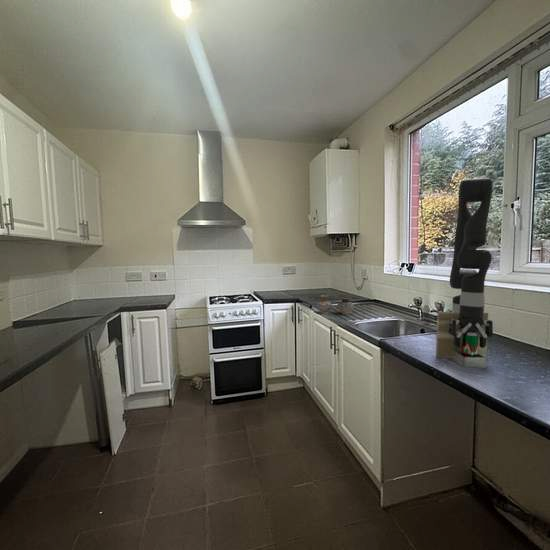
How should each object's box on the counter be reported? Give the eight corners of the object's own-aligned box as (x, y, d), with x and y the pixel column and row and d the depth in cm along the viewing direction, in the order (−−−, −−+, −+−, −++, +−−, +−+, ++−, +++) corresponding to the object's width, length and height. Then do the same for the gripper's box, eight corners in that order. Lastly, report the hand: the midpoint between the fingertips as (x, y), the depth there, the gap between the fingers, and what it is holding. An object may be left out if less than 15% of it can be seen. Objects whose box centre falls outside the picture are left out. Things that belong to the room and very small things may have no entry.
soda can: (471, 360, 116) (473, 329, 115) (480, 365, 111) (481, 333, 110) (458, 360, 116) (459, 329, 115) (466, 365, 111) (467, 333, 110)
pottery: (317, 311, 213) (317, 294, 212) (354, 312, 208) (354, 295, 207) (316, 314, 202) (316, 296, 201) (355, 316, 197) (355, 298, 196)
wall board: (435, 355, 122) (437, 311, 120) (483, 357, 120) (486, 312, 118) (437, 357, 120) (439, 312, 119) (485, 358, 118) (488, 313, 117)
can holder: (450, 357, 120) (450, 348, 119) (472, 358, 119) (472, 349, 118) (462, 366, 110) (463, 357, 110) (487, 367, 109) (487, 358, 109)
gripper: (486, 302, 115) (484, 344, 116) (446, 302, 116) (445, 343, 118) (498, 306, 108) (496, 351, 109) (456, 305, 109) (454, 349, 110)
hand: (469, 347), depth 113 cm, fingers open, 8 cm apart
